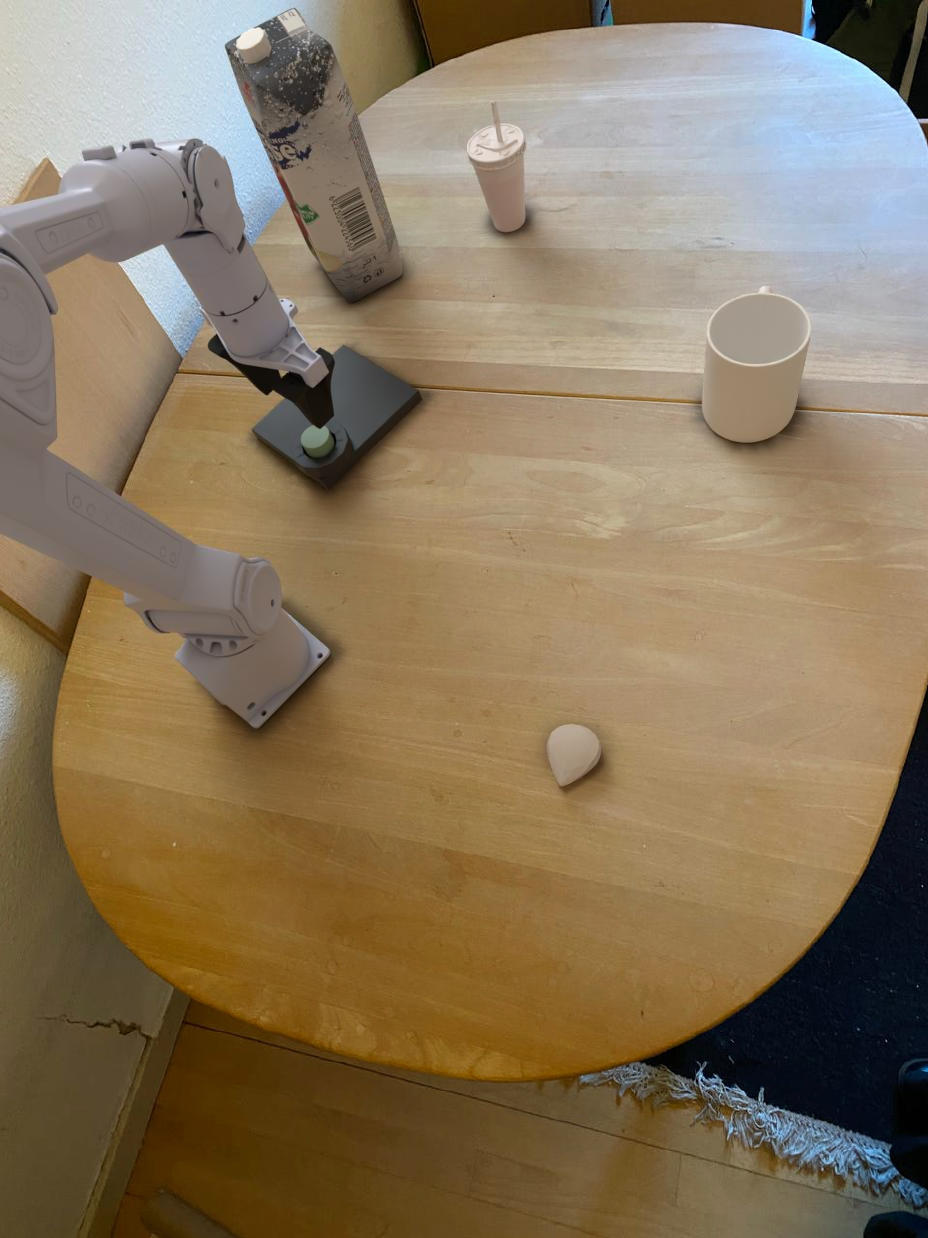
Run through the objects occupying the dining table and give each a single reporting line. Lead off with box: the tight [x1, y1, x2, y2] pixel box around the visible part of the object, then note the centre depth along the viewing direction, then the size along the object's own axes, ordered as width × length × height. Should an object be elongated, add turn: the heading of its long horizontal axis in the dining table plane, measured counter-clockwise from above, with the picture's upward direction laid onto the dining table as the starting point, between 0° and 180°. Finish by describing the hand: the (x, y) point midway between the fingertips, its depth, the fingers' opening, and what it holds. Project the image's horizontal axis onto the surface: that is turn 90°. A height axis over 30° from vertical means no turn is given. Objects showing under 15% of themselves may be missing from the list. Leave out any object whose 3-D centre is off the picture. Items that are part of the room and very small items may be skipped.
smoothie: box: [466, 99, 527, 233], centre depth 90 cm, size 6×6×14 cm
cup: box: [701, 285, 813, 444], centre depth 74 cm, size 8×12×10 cm
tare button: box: [301, 425, 334, 458], centre depth 83 cm, size 3×3×2 cm
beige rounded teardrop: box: [546, 723, 603, 787], centre depth 65 cm, size 4×5×2 cm
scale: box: [251, 344, 423, 491], centre depth 87 cm, size 14×12×3 cm
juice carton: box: [224, 7, 404, 304], centre depth 86 cm, size 9×10×27 cm
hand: (298, 403), depth 78 cm, fingers open, 7 cm apart
